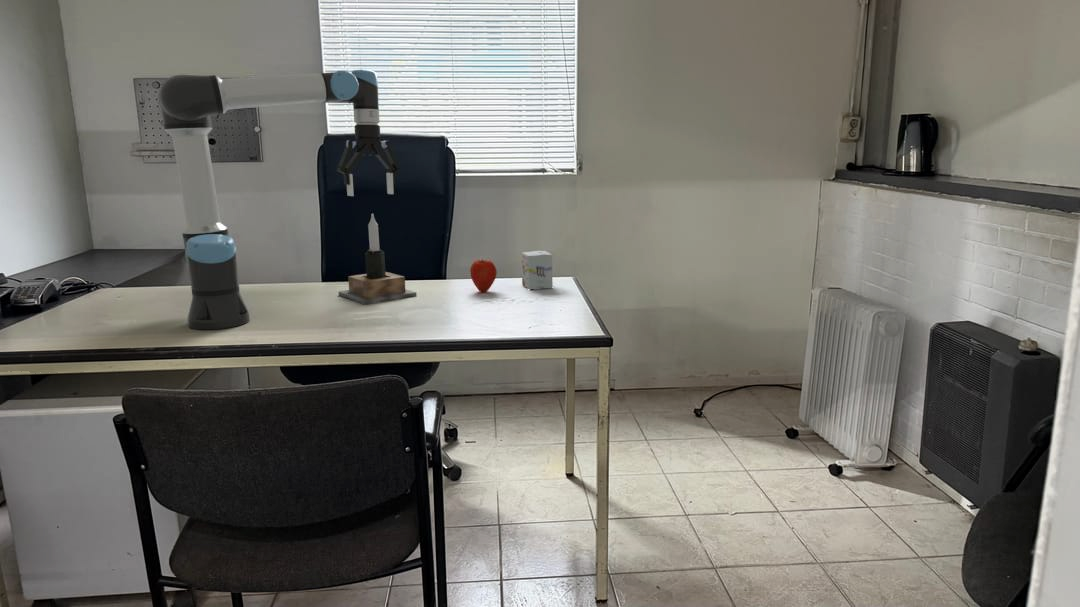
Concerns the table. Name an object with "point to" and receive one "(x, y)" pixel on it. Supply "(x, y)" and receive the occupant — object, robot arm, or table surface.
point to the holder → (376, 288)
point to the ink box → (537, 269)
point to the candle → (374, 253)
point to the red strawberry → (483, 274)
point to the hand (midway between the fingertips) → (370, 195)
